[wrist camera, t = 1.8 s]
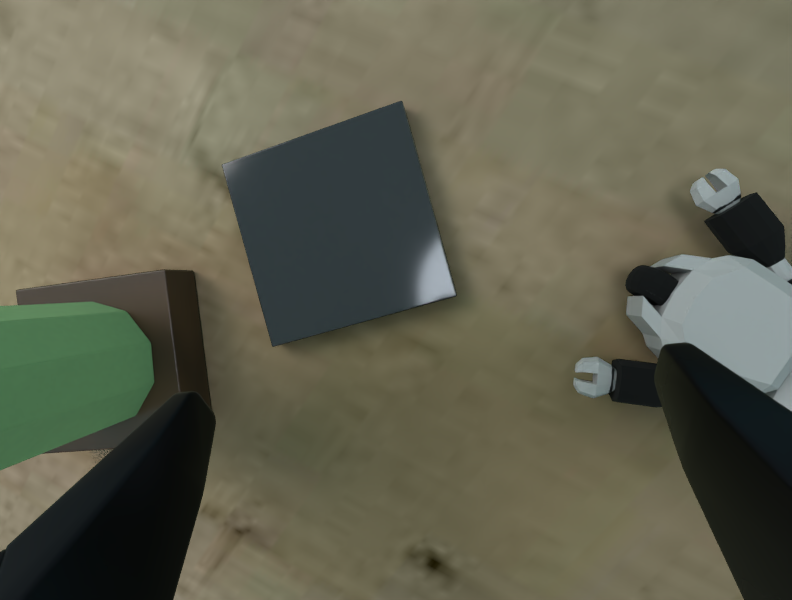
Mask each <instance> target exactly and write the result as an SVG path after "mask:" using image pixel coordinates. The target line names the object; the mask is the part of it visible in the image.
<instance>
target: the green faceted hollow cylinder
mask: <svg viewBox="0 0 792 600" xmlns="http://www.w3.org/2000/svg"><path fill="white" fill-rule="evenodd" d="M153 384H154V371H153V360H152V349H151V342H150V341H149V339H148V338H147V337H146V336H145V334H144V333H143V332H142V330H141V329H140V328H139V327H138V325H137V324H136V323H135V321H134V320H133V319H132V318H131V316H130V315H129V314H128V312H126V311H124V310H121V309H117V308H114V307H110V306H107V305H103V304H99V303H96V302H74V303H54V304H34V305H14V306H0V470H2V469H5V468H7V467H10V466H12V465H15V464H17V463H20V462H22V461H25V460H27V459H30V458H32V457H35V456H37V455H39V454H42V453H44V452H47V451H49V450H52V449H54V448H57V447H59V446H62V445H64V444H67V443H69V442H72V441H74V440H77V439H79V438H82V437H84V436H87V435H89V434H92V433H94V432H97V431H99V430H102V429H104V428H107V427H109V426H112V425H114V424H117V423H119V422H122V421H124V420H127V419H129V418H131V417H134V416H136V415H137V413H138V411H139V409H140V408H141V406H142V404H143V402H144V400H145V398H146V397H147V395H148V393H149V391H150V389H151V388H152V386H153Z"/></svg>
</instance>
